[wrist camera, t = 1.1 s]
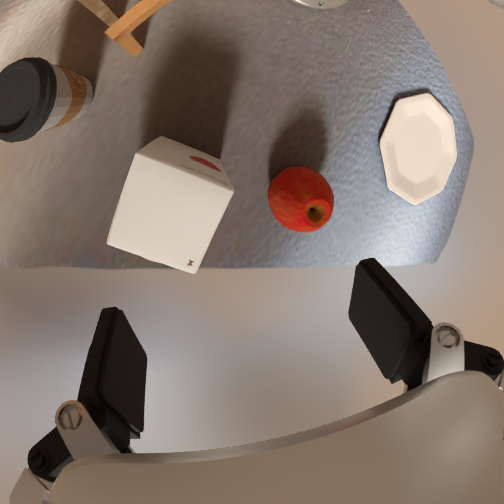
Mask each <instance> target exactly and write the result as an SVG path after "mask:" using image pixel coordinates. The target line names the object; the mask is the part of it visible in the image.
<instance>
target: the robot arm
mask: <svg viewBox="0 0 504 504" xmlns="http://www.w3.org/2000/svg"><path fill="white" fill-rule="evenodd" d="M291 1H292V2H294V3H296V4H299V5H301V6H304V7H307V8H310V9H316V10H329V9H334V8H337V7H339V6H341V5H343V4H344V3H346V2H347V1H348V0H291ZM488 1H490V2H491V3H492V4H494V5H496V6H498V7H500V8H502V9H504V0H488ZM349 319H350V321H351V322H352V324H353V326H354V327H355V329H356V331H357V332H358V334H359V335H360V337H361V339H362V340H363V342H364V343H365V345H366V347H367V349H368V350H369V352H370V354H371V355H372V357H373V359H374V360H375V362H376V364H377V365H378V367H379V369H380V371H381V372H382V374H383V376H384V377H385V378H386V379H389V380H390V382H391V383H392V384H393V383H395V382H397V381H399V380H403V382H404V383H405V386H404V391H403V394H402V395H400V396H398V397H395V398H393V399H391V400H389V401H386V402H384V403H382V404H380V405H377V406H375V407H372V408H370V409H368V410H365V411H363V412H360V413H358V414H355V415H352V416H350V417H347V418H344V419H342V420H338V421H335V422H333V423H329V424H326V425H323V426H320V427H317V428H314V429H310V430H306V431H303V432H299V433H296V434H292V435H288V436H284V437H280V438H275V439H271V440H266V441H262V442H256V443H251V444H245V445H239V446H233V447H227V448H219V449H211V450H201V451H191V452H174V453H142V454H140V453H135V452H134V450H133V449H132V448H131V447H130V446H129V445H130V439H140V432H143V430H144V402H145V383H146V369H147V356H146V353H145V351H144V349H143V348H142V346H141V344H140V342H139V341H138V339H137V337H136V335H135V333H134V332H133V330H132V328H131V326H130V324H129V322H128V320H127V319H126V316H125V314H124V313H123V311H122V310H119V309H118V308H117V307H110V308H103V309H102V311H101V314H100V317H99V321H98V323H97V327H96V330H95V334H94V337H93V341H92V344H91V345H90V348H89V352H88V355H87V359H86V363H85V367H84V371H83V376H82V380H81V385H80V389H79V394H78V399H77V401H75V400H70V401H66V402H65V403H63V404H62V405H61V406H60V407H59V408H58V410H57V412H56V415H55V423H56V427H55V428H54V429H53V430H52V431H51V432H49V434H47V435H46V436H45V437H44V438H42V439H41V440H40V441H39V442H38V443H37V444H35V445H34V446H33V447H32V448H31V450H30V451H29V454H28V465H29V469H28V468H25V469H24V471H23V473H22V474H21V476H20V478H19V480H18V481H17V483H16V485H15V487H14V489H13V491H12V493H11V495H10V504H504V360H503V357H502V355H501V354H500V353H499V352H498V351H497V350H496V349H494V348H491V347H487V346H483V345H480V344H476V343H472V342H468V341H465V340H464V338H463V335H462V333H461V331H460V330H459V329H458V328H457V327H456V326H454V325H453V324H450V323H439V324H437V325H436V326H435V327H433V325H432V324H431V323H432V322H431V321H430V320H429V318H428V317H427V316H426V315H425V313H424V312H423V311H422V310H421V309H420V308H419V307H418V305H417V304H416V303H415V302H414V301H413V299H412V298H411V297H410V296H409V295H408V294H407V293H406V291H405V290H404V289H403V288H402V287H401V286H400V285H399V284H398V283H397V281H396V280H395V279H394V278H393V277H392V276H391V275H390V274H389V273H388V272H387V271H386V270H385V269H384V268H383V266H382V265H381V264H380V263H379V262H378V261H377V260H376V259H375V258H368V259H364V260H361V261H360V262H359V264H358V265H357V266H356V270H355V277H354V283H353V289H352V295H351V301H350V307H349Z"/></svg>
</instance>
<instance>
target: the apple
mask: <svg viewBox="0 0 504 504" xmlns="http://www.w3.org/2000/svg"><path fill="white" fill-rule="evenodd" d="M268 201H269V206H270V208H271V210H272V213H273V215H274V216H275V218H276V219H277V220H278V221H279V222H280V223H281V224H282V225H283V226H285V227H287V228H288V229H291V230H294V231H298V232H311V231H315V230H318V229H319V228H321V227H322V226H323V225H324V224H325V223H327V222H328V221H329V219H330V217H331V215H332V211H333V207H334V196H333V193H332V190H331V187H330V185H329V184H328V182H327V181H326V179H325V178H324V177H323V176H322V175H321V174H319V173H318V172H316V171H315V170H312V169H309V168H307V167H302V166H296V167H289V168H286V169H284V170H283V171H281V172H280V173H279V174H278V175H276V176H275V177H274V178H273V180H272V181H271V183H270V186H269V188H268Z"/></svg>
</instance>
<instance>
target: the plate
mask: <svg viewBox="0 0 504 504" xmlns="http://www.w3.org/2000/svg"><path fill="white" fill-rule="evenodd" d="M379 147H380V152H381V156H382V161H383V166H384V172H385V177H386V183H387V186H388V188H389V189H390V190H391V191H393V192H395V193H396V194H398V195H399V196H401V197H402V198H404V199H405V200H407V201H409V202H410V203H412V204H413V205H417V204H419V203H421V202H423V201H425V200H426V199H428V198H430V197H432V196H434V195H436V194H438V193H440V192H441V191H442V190H443V188H444V186H445V184H446V182H447V180H448V177H449V175H450V173H451V170H452V168H453V165H454V163H455V161H456V157H457V151H456V141H455V132H454V125H453V120H452V117H451V116H450V115H449V113H448V112H447V111H446V110H445V109H444V108H443V107H442V106H441V105H440V104H439V102H438V101H437V100H436V99H435V98H434V97H433V96H432V95H431V94H429V93H422V94H418V95H414V96H409V97H405V98H401V99H398V100H397V101H396V102H395V104H394V107H393V109H392V112H391V114H390V116H389V119H388V121H387V123H386V126H385V128H384V130H383V133H382V135H381V137H380V140H379Z"/></svg>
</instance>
